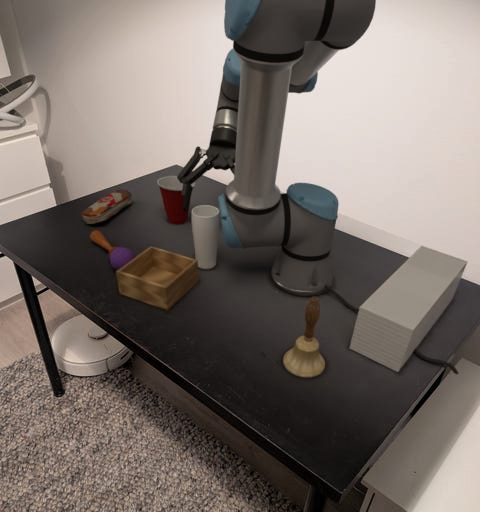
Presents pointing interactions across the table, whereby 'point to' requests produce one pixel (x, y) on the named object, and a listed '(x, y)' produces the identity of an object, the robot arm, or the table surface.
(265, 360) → the table surface
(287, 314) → the table surface
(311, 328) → the hand bell
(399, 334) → the stack of papers
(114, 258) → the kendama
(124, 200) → the pencil case
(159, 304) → the bin
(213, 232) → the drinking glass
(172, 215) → the plastic cup
